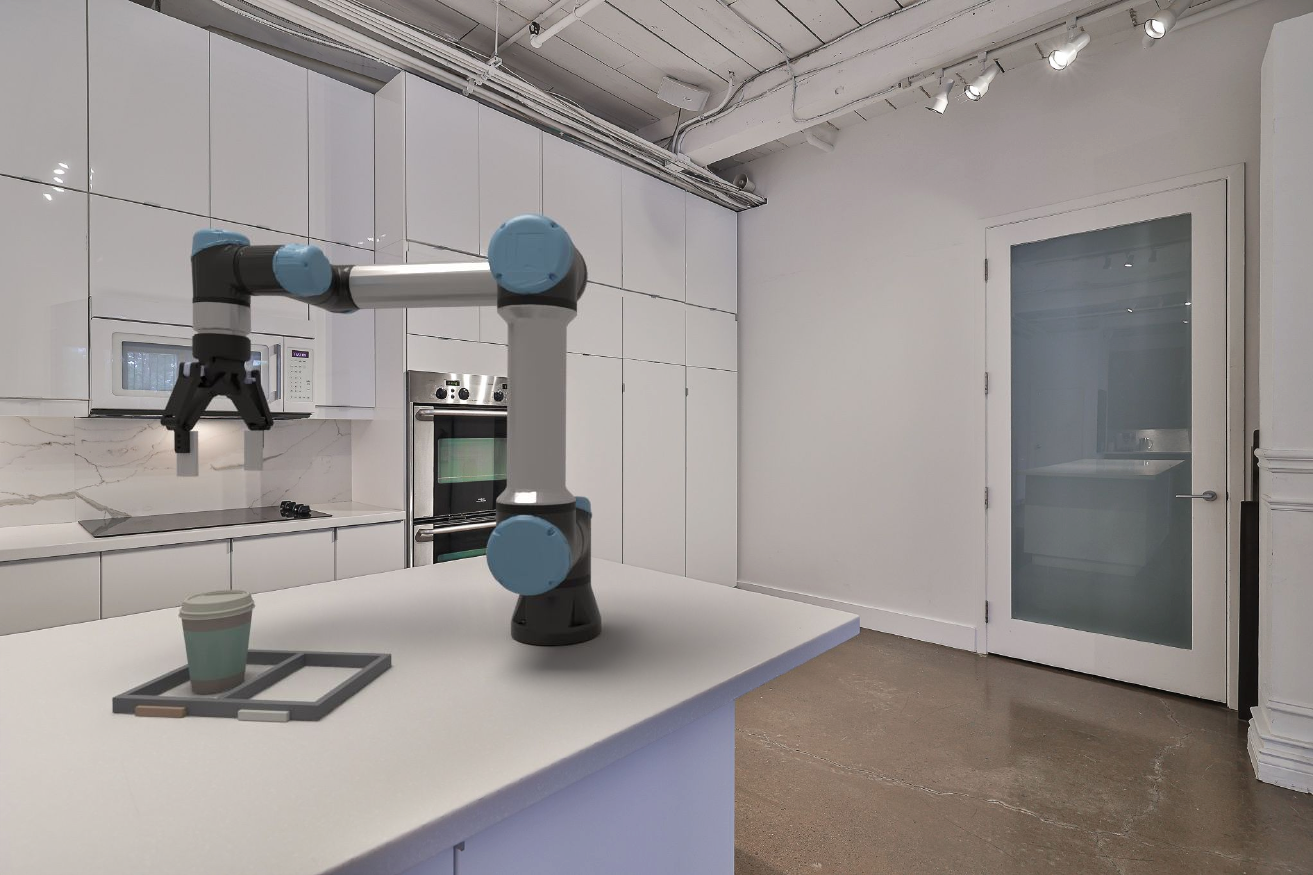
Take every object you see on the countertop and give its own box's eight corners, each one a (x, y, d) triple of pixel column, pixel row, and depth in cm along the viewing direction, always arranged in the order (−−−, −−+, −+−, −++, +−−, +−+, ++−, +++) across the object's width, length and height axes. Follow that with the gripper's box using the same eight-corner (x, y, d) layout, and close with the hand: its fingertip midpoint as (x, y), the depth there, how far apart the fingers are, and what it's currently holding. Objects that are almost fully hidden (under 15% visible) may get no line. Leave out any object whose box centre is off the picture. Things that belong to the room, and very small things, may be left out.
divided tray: (391, 666, 96) (391, 653, 96) (314, 722, 77) (314, 707, 77) (222, 660, 98) (221, 648, 98) (108, 714, 80) (107, 699, 80)
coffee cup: (270, 678, 91) (270, 591, 91) (210, 702, 83) (210, 607, 83) (225, 670, 94) (224, 586, 94) (162, 693, 86) (162, 601, 86)
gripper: (255, 345, 114) (256, 468, 115) (127, 322, 90) (128, 479, 90) (296, 344, 114) (297, 468, 114) (179, 321, 89) (180, 479, 89)
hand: (222, 473), depth 102 cm, fingers open, 13 cm apart
